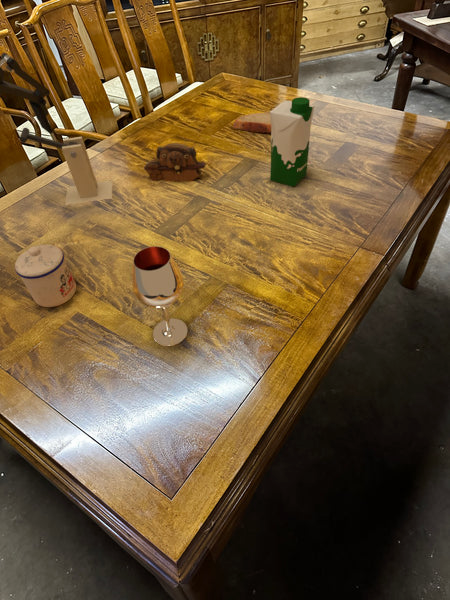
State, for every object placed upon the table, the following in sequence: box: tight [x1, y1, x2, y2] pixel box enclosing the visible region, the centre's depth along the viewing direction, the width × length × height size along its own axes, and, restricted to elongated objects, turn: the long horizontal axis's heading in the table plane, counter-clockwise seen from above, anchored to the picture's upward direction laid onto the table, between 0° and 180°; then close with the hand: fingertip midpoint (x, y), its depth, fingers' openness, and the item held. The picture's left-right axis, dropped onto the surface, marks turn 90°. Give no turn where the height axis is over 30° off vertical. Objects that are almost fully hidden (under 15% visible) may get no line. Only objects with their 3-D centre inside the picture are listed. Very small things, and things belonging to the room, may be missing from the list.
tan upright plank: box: [61, 136, 113, 206], centre depth 105 cm, size 12×9×15 cm
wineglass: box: [131, 245, 188, 347], centre depth 70 cm, size 8×8×18 cm
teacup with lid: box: [14, 244, 77, 308], centre depth 82 cm, size 12×9×12 cm
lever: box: [19, 127, 78, 150], centre depth 99 cm, size 13×5×2 cm, turn 101°
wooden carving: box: [143, 142, 207, 182], centre depth 109 cm, size 16×5×10 cm, turn 88°
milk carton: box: [269, 96, 315, 188], centre depth 103 cm, size 9×9×20 cm
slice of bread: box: [232, 111, 271, 134], centre depth 129 cm, size 18×18×4 cm
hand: (20, 149), depth 83 cm, fingers open, 13 cm apart
